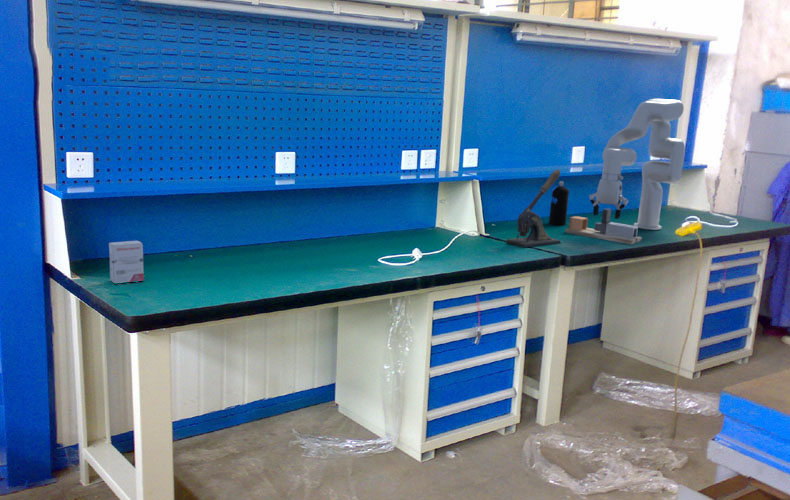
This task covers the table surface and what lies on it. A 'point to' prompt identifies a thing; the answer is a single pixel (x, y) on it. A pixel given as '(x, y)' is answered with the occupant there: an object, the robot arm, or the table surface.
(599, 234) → the base board
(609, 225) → the pale blue rectangular box
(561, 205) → the aerosol can
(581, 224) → the socket
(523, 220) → the embossing press
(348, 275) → the table surface
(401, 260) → the table surface
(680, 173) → the robot arm
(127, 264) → the ink box
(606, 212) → the grey bar
